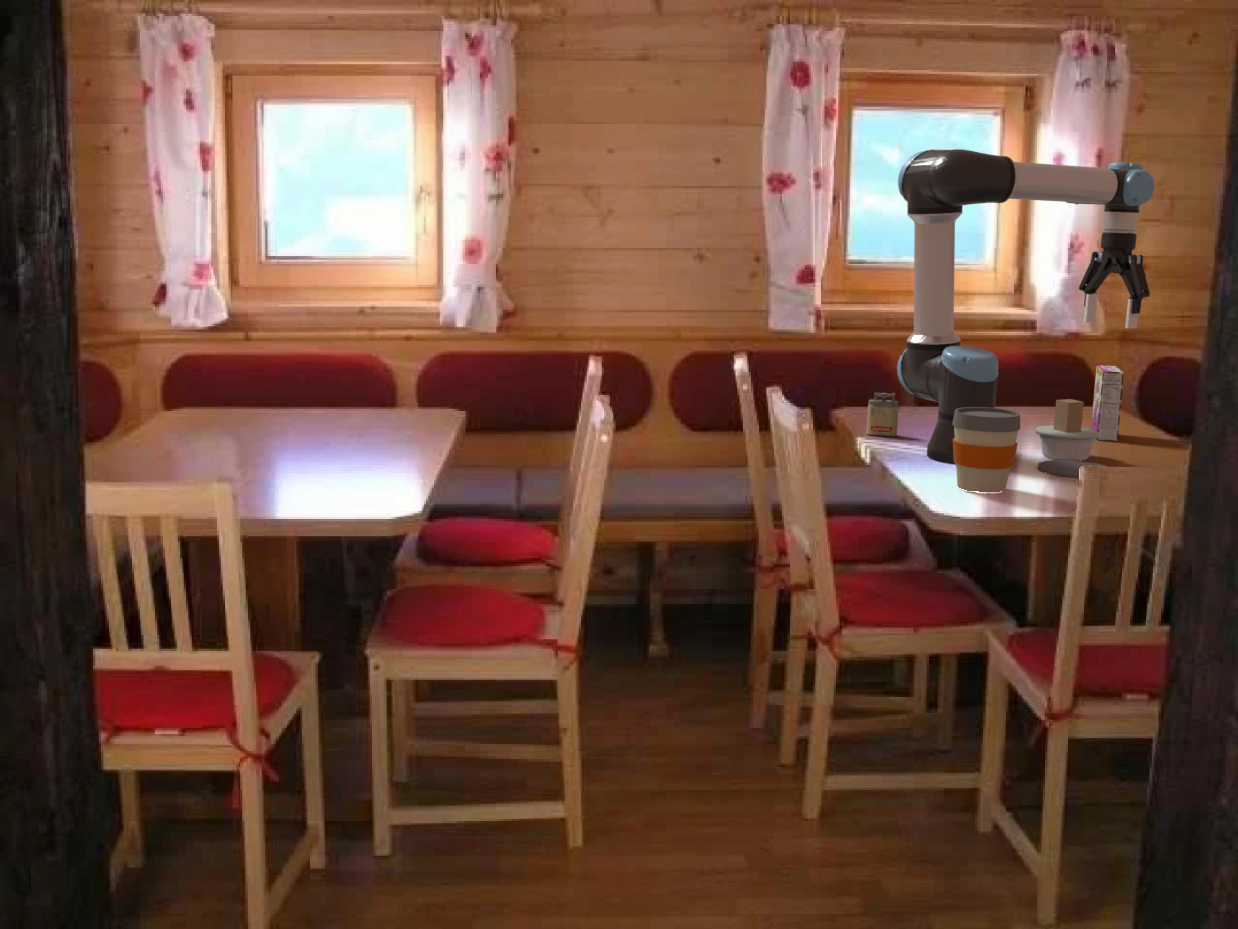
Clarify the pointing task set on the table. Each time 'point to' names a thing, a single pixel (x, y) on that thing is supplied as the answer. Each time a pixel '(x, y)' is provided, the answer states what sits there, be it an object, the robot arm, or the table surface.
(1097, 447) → the table surface
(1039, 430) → the lid
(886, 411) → the lighter
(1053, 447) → the ramekin
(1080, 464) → the trivet
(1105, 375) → the candy bar box
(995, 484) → the reusable coffee cup
